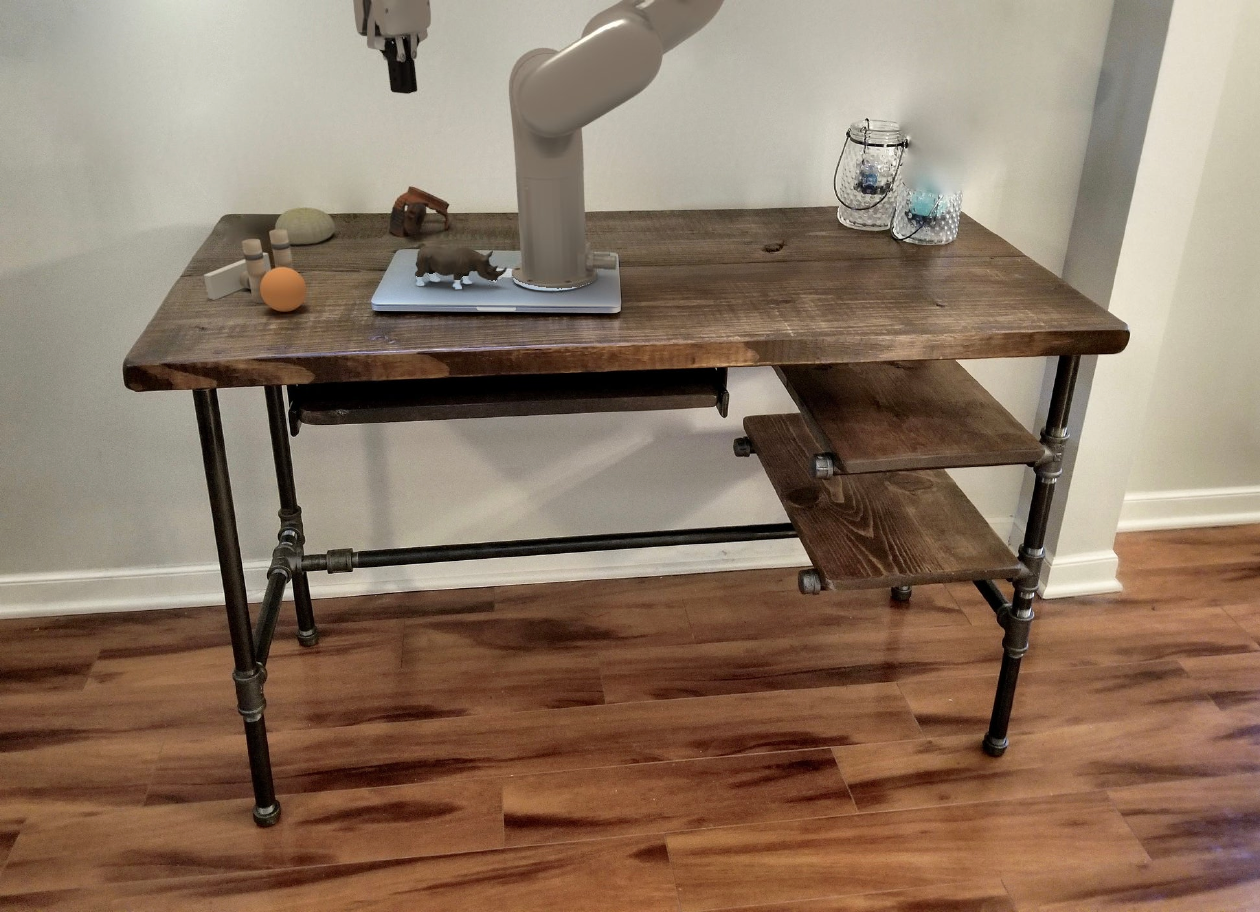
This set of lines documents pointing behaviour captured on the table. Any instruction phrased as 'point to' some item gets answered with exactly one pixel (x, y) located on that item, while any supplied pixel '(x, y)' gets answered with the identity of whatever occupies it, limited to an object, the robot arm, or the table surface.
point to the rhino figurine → (455, 263)
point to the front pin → (245, 280)
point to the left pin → (254, 266)
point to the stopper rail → (228, 278)
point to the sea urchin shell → (306, 225)
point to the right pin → (281, 248)
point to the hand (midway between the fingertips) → (404, 91)
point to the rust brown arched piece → (415, 211)
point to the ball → (283, 289)
